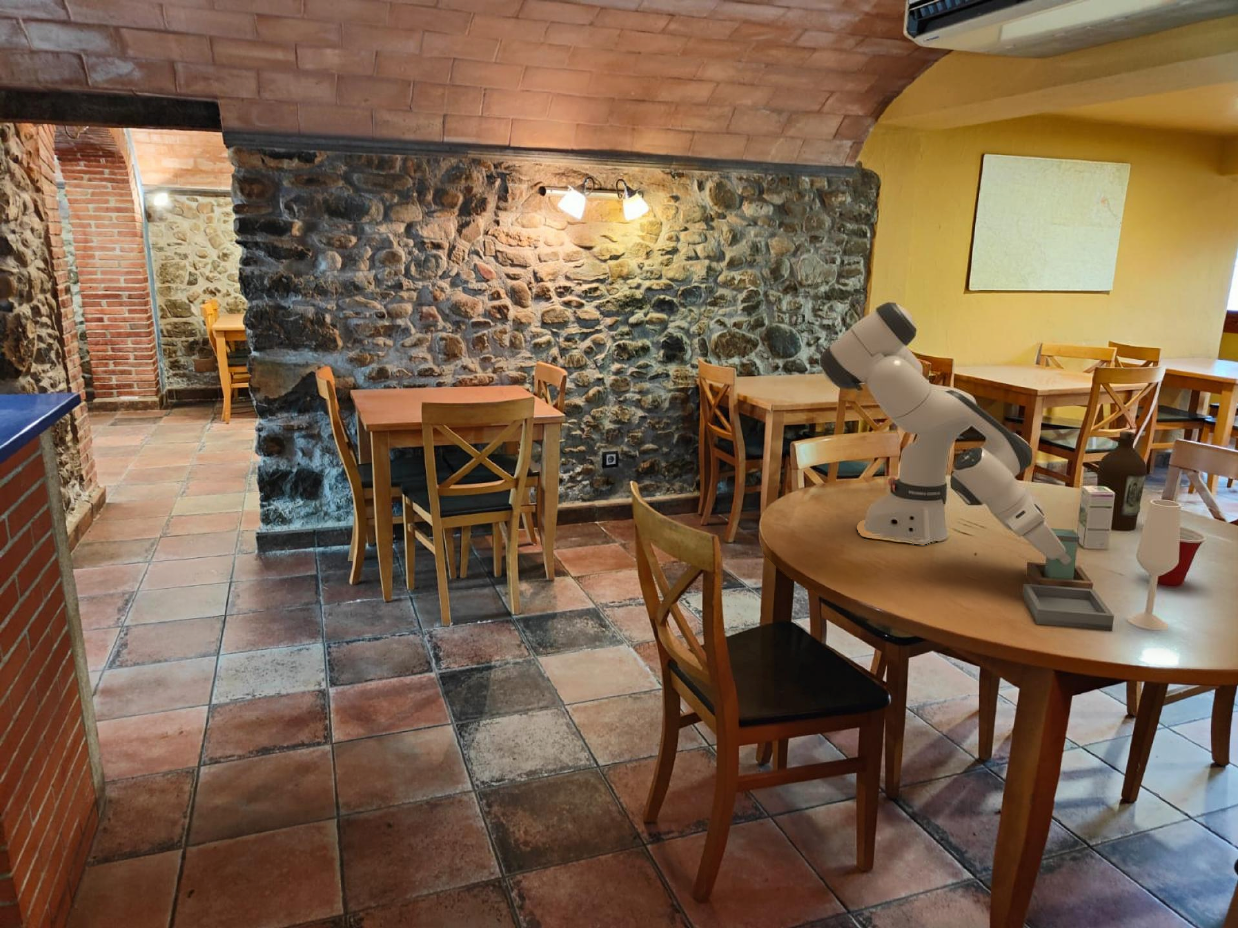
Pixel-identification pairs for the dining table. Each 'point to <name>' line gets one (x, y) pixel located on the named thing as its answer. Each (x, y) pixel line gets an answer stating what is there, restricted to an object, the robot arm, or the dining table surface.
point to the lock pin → (1070, 543)
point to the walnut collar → (1037, 578)
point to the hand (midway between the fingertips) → (1064, 556)
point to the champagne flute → (1158, 554)
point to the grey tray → (1067, 607)
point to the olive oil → (1123, 481)
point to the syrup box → (1095, 517)
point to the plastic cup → (1183, 557)
